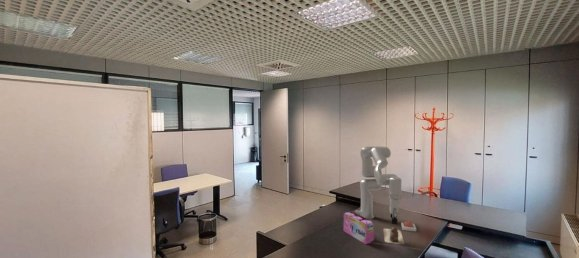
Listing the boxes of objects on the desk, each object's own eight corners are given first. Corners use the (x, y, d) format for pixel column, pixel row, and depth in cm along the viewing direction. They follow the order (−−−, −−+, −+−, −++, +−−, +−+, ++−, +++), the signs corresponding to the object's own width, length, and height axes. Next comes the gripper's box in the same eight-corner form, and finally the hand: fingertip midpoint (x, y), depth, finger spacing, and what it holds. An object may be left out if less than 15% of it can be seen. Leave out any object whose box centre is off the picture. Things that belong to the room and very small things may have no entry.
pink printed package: (341, 230, 187) (342, 212, 186) (350, 228, 190) (350, 210, 190) (365, 244, 166) (366, 224, 165) (374, 241, 169) (374, 221, 169)
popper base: (402, 231, 185) (402, 227, 185) (401, 226, 194) (401, 222, 194) (416, 232, 183) (416, 228, 183) (414, 227, 191) (414, 223, 191)
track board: (384, 243, 167) (384, 241, 167) (383, 229, 188) (383, 228, 188) (404, 246, 163) (404, 244, 163) (400, 231, 184) (400, 230, 184)
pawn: (390, 241, 167) (390, 228, 167) (389, 238, 172) (390, 225, 172) (398, 242, 166) (398, 229, 165) (397, 239, 171) (397, 226, 170)
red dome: (405, 229, 187) (405, 222, 186) (404, 226, 192) (404, 219, 191) (412, 230, 185) (413, 223, 185) (411, 227, 190) (411, 220, 190)
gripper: (387, 191, 177) (386, 215, 179) (389, 199, 161) (388, 225, 162) (399, 192, 175) (398, 216, 176) (402, 200, 159) (401, 227, 160)
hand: (393, 220), depth 169 cm, fingers open, 9 cm apart
